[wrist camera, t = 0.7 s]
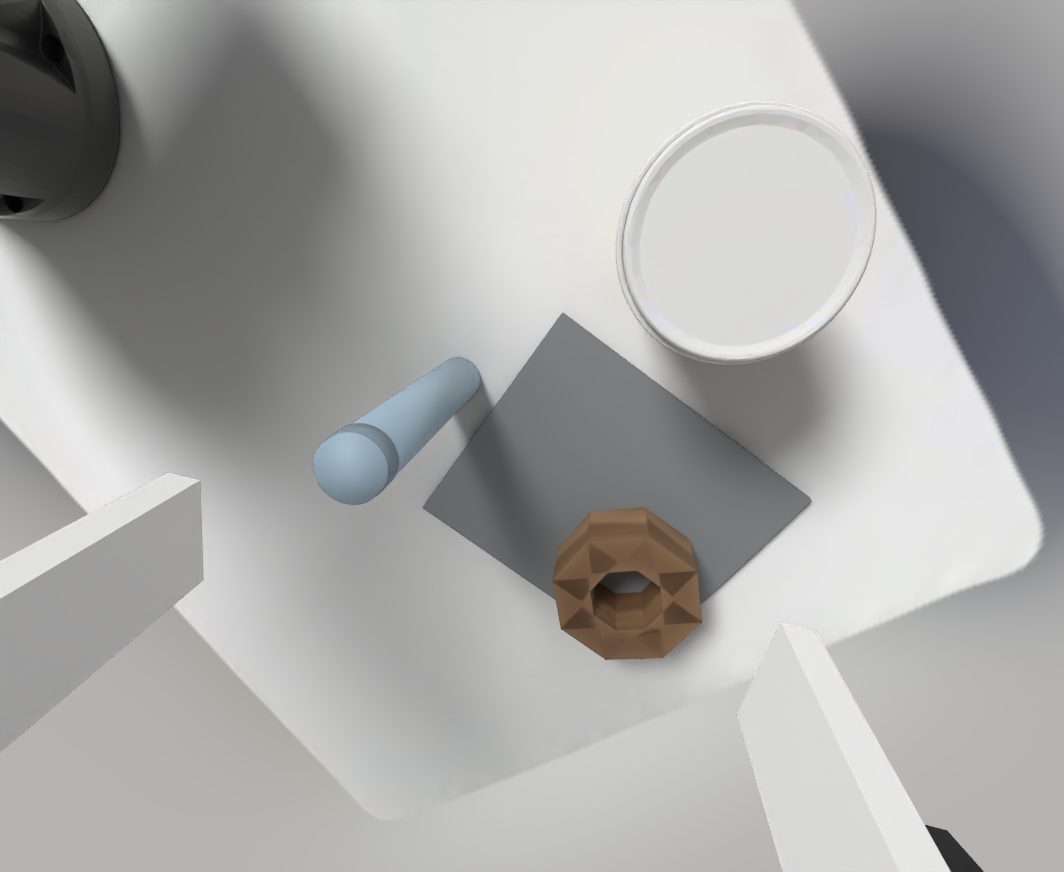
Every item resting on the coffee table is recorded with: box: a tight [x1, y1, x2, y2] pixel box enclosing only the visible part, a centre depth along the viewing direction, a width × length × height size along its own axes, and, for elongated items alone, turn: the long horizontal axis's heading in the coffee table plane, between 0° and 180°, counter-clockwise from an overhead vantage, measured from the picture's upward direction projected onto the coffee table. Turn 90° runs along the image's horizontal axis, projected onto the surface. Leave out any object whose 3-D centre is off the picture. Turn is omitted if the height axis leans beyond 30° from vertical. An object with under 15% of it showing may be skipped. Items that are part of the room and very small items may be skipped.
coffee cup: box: [616, 101, 876, 365], centre depth 25 cm, size 9×9×12 cm
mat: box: [423, 313, 812, 659], centre depth 36 cm, size 20×17×1 cm
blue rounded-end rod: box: [313, 357, 480, 505], centre depth 27 cm, size 3×3×16 cm
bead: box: [552, 507, 702, 660], centre depth 35 cm, size 9×9×4 cm
